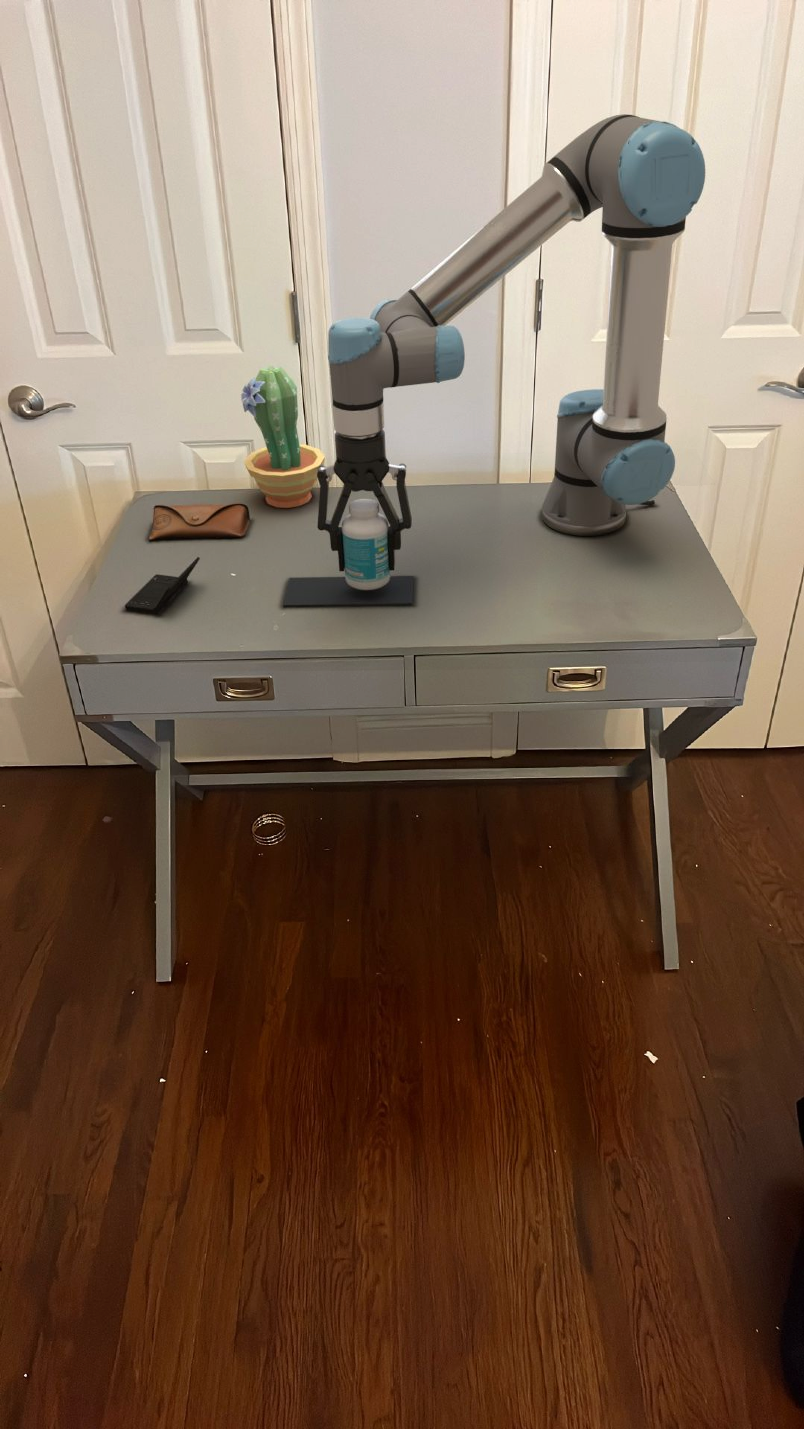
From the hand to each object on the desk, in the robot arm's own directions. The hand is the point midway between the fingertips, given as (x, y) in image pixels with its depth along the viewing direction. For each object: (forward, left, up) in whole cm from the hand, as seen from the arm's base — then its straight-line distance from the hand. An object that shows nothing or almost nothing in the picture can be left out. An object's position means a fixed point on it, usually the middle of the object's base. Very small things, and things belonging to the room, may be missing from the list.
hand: (367, 566), depth 161 cm
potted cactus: (+18, -37, -5) cm, 41 cm away
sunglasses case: (+33, -24, -5) cm, 41 cm away
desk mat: (+3, 0, -5) cm, 6 cm away
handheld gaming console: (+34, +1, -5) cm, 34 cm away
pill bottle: (0, 0, -3) cm, 3 cm away
